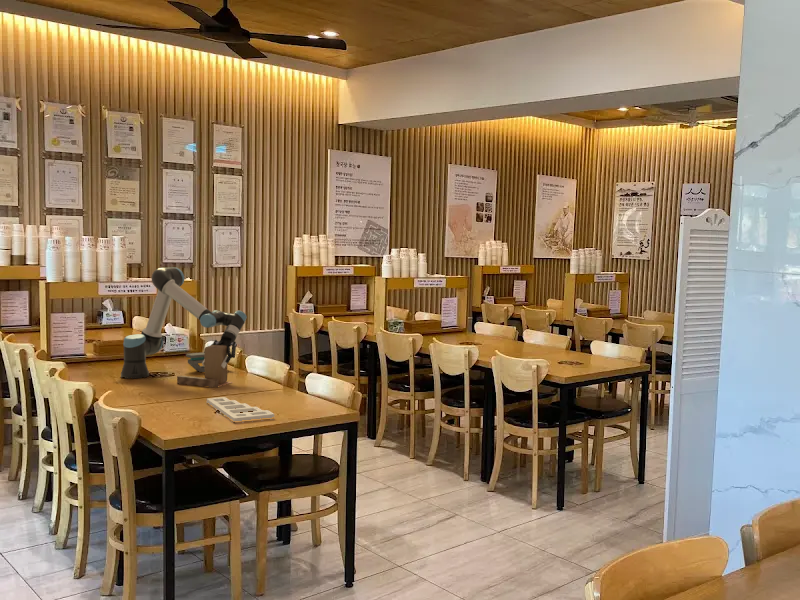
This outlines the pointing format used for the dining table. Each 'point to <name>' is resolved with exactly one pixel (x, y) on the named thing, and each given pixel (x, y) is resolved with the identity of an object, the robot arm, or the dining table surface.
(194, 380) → the walnut straightedge
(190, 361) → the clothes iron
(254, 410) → the holder
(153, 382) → the dining table surface
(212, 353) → the wooden block
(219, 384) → the terracotta end mark
